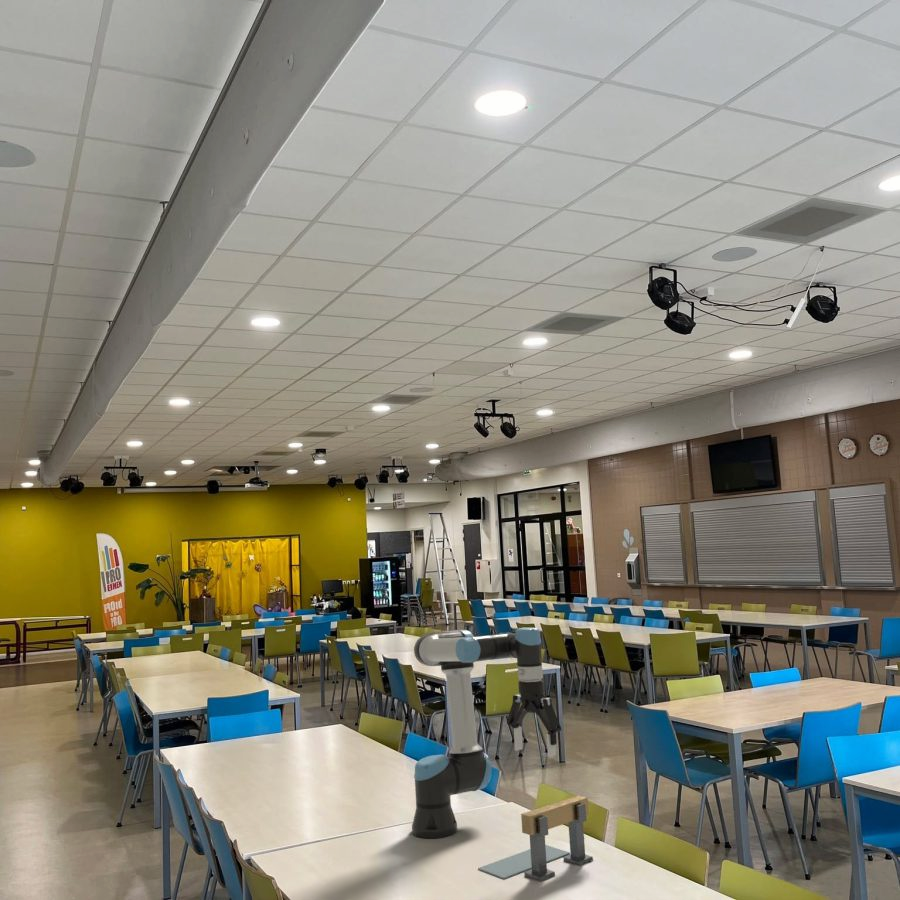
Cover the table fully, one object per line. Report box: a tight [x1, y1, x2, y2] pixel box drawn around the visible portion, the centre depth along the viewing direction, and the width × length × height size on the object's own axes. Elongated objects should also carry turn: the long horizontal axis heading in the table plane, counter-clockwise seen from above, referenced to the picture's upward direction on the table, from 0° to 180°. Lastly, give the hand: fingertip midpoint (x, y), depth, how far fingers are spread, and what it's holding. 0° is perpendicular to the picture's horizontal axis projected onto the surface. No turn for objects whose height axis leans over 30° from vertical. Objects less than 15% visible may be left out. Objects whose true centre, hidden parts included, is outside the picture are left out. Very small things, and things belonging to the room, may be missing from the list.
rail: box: [520, 795, 590, 836], centre depth 235 cm, size 4×24×5 cm, turn 129°
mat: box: [477, 844, 571, 880], centre depth 240 cm, size 11×27×1 cm, turn 129°
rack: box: [523, 803, 594, 883], centre depth 234 cm, size 6×22×16 cm, turn 129°
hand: (535, 753), depth 244 cm, fingers open, 13 cm apart
